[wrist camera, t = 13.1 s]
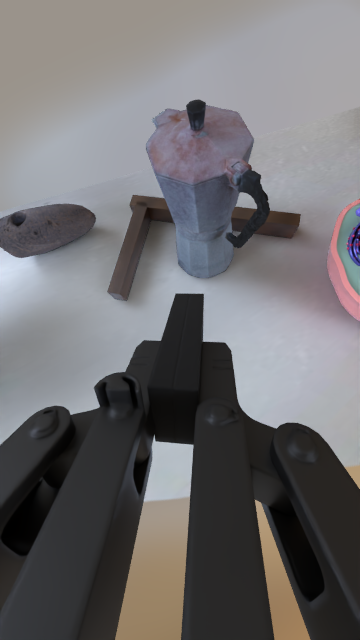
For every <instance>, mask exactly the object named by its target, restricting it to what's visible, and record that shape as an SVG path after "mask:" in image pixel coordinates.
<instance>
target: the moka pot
mask: <svg viewBox="0 0 360 640" xmlns="http://www.w3.org/2000/svg"><path fill="white" fill-rule="evenodd" d="M186 107H187V110H183V111H179V110H174V109H166V110H165V111H163V112H161V113H160V114H159V115H158V116H156V117H155V118H153V119H152V121H153V123H154V124H155V126H156V128H157V129H156V130H155V132H154V133H153V134H152V136H151V137H150V138H149V140H148V142H147V143H146V150H147V153H148V155H149V159H150V161H151V164H152V167H153V170H154V173H155V176H156V178H157V181H158V183H159V185H160V188H161V190H162V193H163V195H164V198H165V200H166V202H167V205H168V208H169V210H170V213H171V215H172V218H173V220H174V223H175V225H176V244H177V255H178V263H179V265H180V266H181V268H183V270H185V271H186V272H187V273H188V274H190V275H192V276H195V277H201V278H208V277H213V276H215V275H217V274H220V273H222V272H224V271H225V270H226V269H227V267H228V266H229V264H230V262H231V260H232V258H233V255H234V252H233V246H234V247H237V248H241V247H242V246H243V245H244V244H245V243H246V242H247V241H248V239H249V238H250V237H252V235H253V233H254V232H256V231H257V230H258V229H259V228H260V226H262V225H264V224H265V222H266V220H267V218H268V216H269V213H270V208H269V203H268V202H267V201H268V197H267V194H266V193H265V192H264V191H263V189H262V186H261V184H260V179H261V175H260V174H258V173H256V172H255V171H252V167H251V165H249V164H248V161H249V158H250V154H251V150H252V147H253V143H254V139H253V137H252V135H251V133H250V131H249V130H248V128H247V126H246V125H245V123H244V121H243V120H242V118H241V116H240V115H239V113H238V112H235V111H231V110H226V109H221V108H217V107H212V106H208V105H206V103H205V102H203V101H201V100H194V101H191V102H189V104H187V106H186ZM240 192H244V193H248V194H249V195H251V196H252V197H253V198H254V200H255V203H256V204H257V210H256V211H255V212H254V213H253V215H252V217H251V218H250V220H249V221H248V222H247V224H246V225H245V226H244V228H243V230H242V232H241V234H240V235H238V236H237V237H236V236H234V235H233V234H232V223H231V215H232V211H233V210H234V207H235V206H236V204H237V200H238V196H239V193H240Z"/></svg>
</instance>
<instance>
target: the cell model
mask: <svg viewBox="0 0 360 640" xmlns="http://www.w3.org/2000/svg"><path fill="white" fill-rule="evenodd" d="M327 270H328V274H329V277H330V280H331V283H332V285H333V287H334V289H335V291H336V294H337V296H338V298H339V301H340V303H341V304H342V306H343V307H344V308H345V309H346V310H347V312H348V313H349V314H350V315H351V316H352V317H354V318H355V319H356V320H358V321H359V322H360V199H358V200H356V201H355V202H353V203H351V204H349V205H348V206H347V207H346V208H344V209H343V210H342V212H341V213H340V214H339V217H338V219H337V222H336V225H335V228H334V231H333V235H332V239H331V242H330V246H329V250H328V257H327Z"/></svg>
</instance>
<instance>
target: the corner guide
mask: <svg viewBox="0 0 360 640" xmlns="http://www.w3.org/2000/svg"><path fill="white" fill-rule="evenodd" d="M130 207H131V209H132V212H133V214H132V217H131V221H130V224H129V227H128V230H127V233H126V236H125V239H124V242H123V245H122V248H121V251H120V254H119V258H118V261H117V264H116V267H115V270H114V273H113V276H112V279H111V282H110V285H109V288H108V291H107V292H108V293H109V294H110V295H112V296H113V297H114V298H115V299H119V300H124V301H127V298H128V295H129V292H130V289H131V285H132V282H133V279H134V275H135V272H136V269H137V265H138V262H139V259H140V255H141V252H142V249H143V245H144V242H145V239H146V235H147V232H148V229H149V225H150V222H151V220H157V221H165V222H172V223H174V220H173V218H172V215H171V213H170V210H169V208H168V205H167V202H166V200H165V199H164V198H155V197H147V196H138V195H133V196H132V199H131V202H130ZM256 210H257V209H251V208H242V207H234V210H233V211H232V215H231V223H232V230H233V231H240V232H242V230H243V228H244V226H245V225H246V224H247V222H248V221H249V220H250V218H251V217H252V215H253V213H254V212H255V211H256ZM300 215H301V214H294V213H285V212H277V211H270V213H269V216H268V218H267V220H266V222H265V224H264V225H262V226H260V228H259V229H258V230H257V231H256V232H254V233H255V234H263V235H271V236H278V237H286V238H292V237H293V235H294V233H295V232H296V230H297V228H298V227H299V223H300Z"/></svg>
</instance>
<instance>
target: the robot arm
mask: <svg viewBox="0 0 360 640" xmlns="http://www.w3.org/2000/svg"><path fill="white" fill-rule="evenodd" d="M203 305H204V294H176V295H175V298H174V301H173V304H172V307H171V311H170V314H169V317H168V320H167V324H166V327H165V330H164V333H163V336H162V340H161V341H147V340H144V341H143V342H142V343H141V344H140V345H138V346H137V347H136V349H135V352H134V354H133V357H132V358H131V360H130V363H129V365H128V367H127V369H126V372H120V373H114V374H111V375H108V376H106V377H105V378H103V379H102V380H100V381H99V382H98V383H97V384H96V386H95V387H94V389H95V392H96V395H97V399H98V402H99V405H100V407H99V408H97V409H94V410H91V411H87V412H82V413H77V414H73V415H70V413H69V410H67V409H66V408H64V407H61V406H52V407H47V408H45V409H43V410H40V411H38V412H36V413H35V414H34V415H32V416H31V417H30V418H29V419H27V420H26V421H25V422H24V423H23V424H22V425H21V426H20V427H19V428H18V429H17V430H16V431H15V432H14V433H13V434H12V435H11V436H10V437H9V438H8V439H7V440H5V441H4V442H3V443H2V444H1V445H0V640H115V636H116V632H117V627H118V622H119V616H120V612H121V607H122V603H123V598H124V593H125V588H126V583H127V578H128V574H129V569H130V564H131V559H132V554H133V549H134V544H135V540H136V535H137V530H138V525H139V520H140V515H141V511H142V506H143V501H144V496H145V491H146V486H147V482H148V477H149V472H150V467H151V462H152V447H151V446H152V442H153V437H154V435H155V441H159V442H170V443H181V444H192V445H194V448H193V463H192V479H191V494H190V510H189V526H188V541H187V557H186V573H185V588H184V603H183V604H184V605H183V619H182V634H181V640H274V634H273V627H272V619H271V612H270V605H269V599H268V591H267V584H266V577H265V570H264V563H263V555H262V548H261V541H260V534H259V527H258V520H257V512H256V506H255V500H257V501H259V502H261V503H262V506H263V509H264V512H265V514H266V517H267V520H268V523H269V526H270V528H271V531H272V534H273V537H274V540H275V542H276V545H277V548H278V551H279V553H280V556H281V559H282V562H283V564H284V567H285V570H286V573H287V576H288V578H289V581H290V584H291V587H292V589H293V592H294V595H295V598H296V601H297V603H298V606H299V609H300V612H301V614H302V617H303V620H304V623H305V625H306V628H307V631H308V634H309V636H310V639H311V640H360V489H359V488H358V486H357V485H356V483H355V482H354V480H353V479H352V478H351V476H350V475H349V473H348V472H347V470H346V469H345V468H344V466H343V465H342V463H341V462H340V461H339V459H338V458H337V456H336V455H335V453H334V452H333V451H332V449H331V448H330V446H329V445H328V443H327V442H326V441H325V440H324V439H323V438H322V437H321V436H320V435H319V434H318V433H317V432H315V431H314V430H312V429H311V428H309V427H307V426H304V425H302V424H299V423H285V424H283V425H280V426H279V427H278V428H277V429H276V428H273V427H270V426H267V425H265V424H262V423H259V422H257V421H255V420H253V419H252V418H250V417H249V416H248V415H246V414H245V412H244V411H243V410H242V409H241V407H240V405H239V403H238V400H237V393H236V385H235V377H234V369H233V361H232V354H231V350H230V348H229V347H228V346H227V344H226V343H220V342H203Z"/></svg>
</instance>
